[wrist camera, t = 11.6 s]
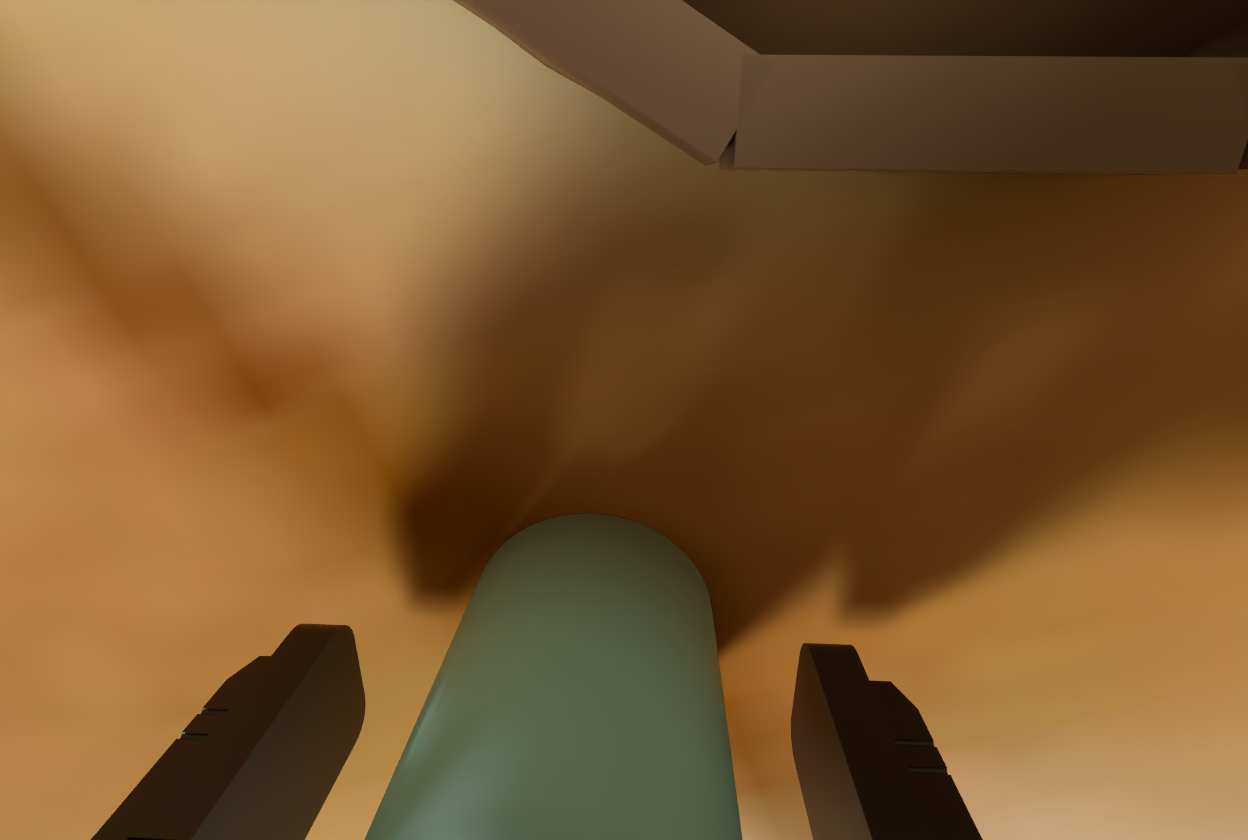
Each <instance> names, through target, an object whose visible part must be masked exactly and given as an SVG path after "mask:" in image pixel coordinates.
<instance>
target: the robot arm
mask: <svg viewBox="0 0 1248 840" xmlns="http://www.w3.org/2000/svg"><path fill="white" fill-rule="evenodd" d="M364 715H365V694H364V688H363V683H362V677H361V672H360V666H359V661H358V655H357V649H356V644H355V638H354V634H353V631H352V629H351V628H350V627H349V626H347V625H325V624H299V625H297V626H296V627H295V628H294V629H293V630H292V631H291V632H290V633H289V634H288V636H287V637H286V638H285V639H284V641H283V642H282V643H281V644H280V646H279V647H278V648H277V649H276V651H275V652H274V653H273V654H272V656H259V657H258V658H256V659H255V660H254V661H252V662H251V663H249V664H248V665H247V666H245V667H244V668H242V669H241V670H240V671H238V672H237V673H235V674H234V675H233V676H231V677H230V678H228V679H227V680H226V681H225V682H224V683H223V685H222V686H221V687H220V688H219V689H218V691H217V692H216V693H215V694H214V695H213V696H212V698H211V699H210V700H209V701H208V702H207V703H206V705H205V706H204V707H203V708H202V713H201V714H197V715H196V716H195V718H194V719H193V720H192V721H191V722H190V724H189V725H188V726H187V727H186V728H185V729H184V731H183V732H182V736H181V738H180V739H176V740H175V741H174V742H173V744H172V745H171V746H170V747H169V748H168V749H167V751H166V752H165V753H164V754H163V755H162V757H161V758H160V759H159V760H158V761H157V762H156V764H155V765H154V766H153V767H152V768H151V770H150V771H149V772H148V773H147V774H146V775H145V777H144V778H143V779H142V780H141V781H140V782H139V784H138V785H137V786H136V787H135V788H134V790H133V791H132V792H131V793H130V794H129V795H128V797H127V798H126V799H125V800H124V801H123V803H122V804H121V805H120V806H119V807H118V808H117V810H116V811H115V812H114V813H113V814H112V815H111V817H110V818H109V819H108V820H107V821H106V823H105V824H104V825H103V826H102V827H101V828H100V830H99V831H98V832H97V833H96V834H95V835H94V837H93V838H92V839H91V840H305V838H306V836H307V834H308V832H309V830H310V829H311V827H312V825H313V823H314V821H315V819H316V817H317V815H318V813H319V811H320V810H321V808H322V806H323V804H324V802H325V800H326V798H327V796H328V794H329V792H330V791H331V789H332V787H333V785H334V783H335V781H336V779H337V777H338V775H339V773H340V772H341V770H342V768H343V766H344V764H345V762H346V760H347V758H348V756H349V754H350V753H351V751H352V749H353V747H354V745H355V743H356V741H357V739H358V737H359V734H360V731H361V728H362V725H363V720H364ZM791 739H792V749H793V756H794V761H795V765H796V769H797V774H798V778H799V782H800V786H801V790H802V794H803V799H804V803H805V807H806V811H807V815H808V819H809V824H810V828H811V832H812V836H813V840H982V838H981V836H980V834H979V832H978V830H977V828H976V826H975V824H974V822H973V820H972V818H971V816H970V814H969V812H968V809H967V807H966V805H965V803H964V801H963V799H962V797H961V795H960V793H959V791H958V789H957V787H956V785H955V783H954V781H953V779H952V777H951V775H948V773H947V767H946V765H945V763H944V761H943V759H942V757H941V755H940V753H939V751H938V749H937V747H934V744H933V739H932V737H931V735H930V733H929V731H928V729H927V727H926V725H925V723H924V721H923V719H922V717H921V715H920V713H919V710H918V709H917V708H916V707H915V706H914V705H913V704H912V703H911V702H910V701H909V700H908V699H907V698H906V697H905V696H904V695H903V694H902V693H901V692H900V691H899V690H898V689H897V688H896V687H895V686H894V685H893V684H892V682H889V681H869V679H868V676H867V674H866V672H865V669H864V667H863V665H862V662H861V660H860V658H859V655H858V653H857V651H856V649H855V648H854V647H853V646H852V645H840V644H812V643H804V644H803V645H802V647H801V650H800V656H799V664H798V671H797V679H796V686H795V693H794V701H793V708H792V716H791Z"/></svg>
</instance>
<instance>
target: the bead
mask: <svg viewBox="0 0 1248 840" xmlns="http://www.w3.org/2000/svg"><path fill="white" fill-rule="evenodd" d="M365 840H742V834H741V826H740V818H739V811H738V803H737V795H736V788H735V780H734V773H733V765H732V757H731V750H730V742H729V735H728V727H727V719H726V712H725V704H724V696H723V689H722V681H721V674H720V666H719V658H718V651H717V643H716V636H715V628H714V620H713V613H712V606H711V600H710V596H709V592H708V589H707V586H706V584H705V582H704V580H703V578H702V576H701V574H700V572H699V570H698V569H697V568H696V566H695V565H694V563H693V562H692V560H691V559H690V558H689V557H688V556H687V555H686V554H685V553H684V552H683V551H682V550H681V549H680V548H679V547H678V546H677V545H676V544H674V543H673V542H672V541H671V540H669V539H668V538H666V537H665V536H663V535H662V534H660V533H659V532H657V531H655V530H653V529H651V528H649V527H647V526H645V525H643V524H640V523H637V522H634V521H631V520H628V519H625V518H621V517H616V516H611V515H604V514H593V513H588V514H570V515H563V516H558V517H554V518H550V519H547V520H543V521H541V522H538V523H536V524H533V525H531V526H529V527H527V528H525V529H523V530H522V531H520V532H518V533H516V534H515V535H514V536H512V537H511V538H510V539H509V540H507V541H506V542H505V543H504V544H503V545H502V546H501V547H500V548H499V549H498V550H497V551H496V552H495V553H494V554H493V556H492V557H491V559H490V560H489V561H488V563H487V564H486V566H485V568H484V570H483V572H482V574H481V576H480V578H479V581H478V583H477V585H476V587H475V590H474V592H473V594H472V597H471V599H470V601H469V603H468V606H467V608H466V610H465V612H464V615H463V617H462V619H461V622H460V624H459V626H458V628H457V631H456V633H455V635H454V637H453V640H452V642H451V644H450V647H449V649H448V651H447V653H446V656H445V658H444V660H443V662H442V665H441V667H440V669H439V672H438V674H437V676H436V678H435V681H434V683H433V685H432V687H431V690H430V692H429V694H428V697H427V699H426V701H425V703H424V706H423V708H422V710H421V713H420V715H419V717H418V719H417V722H416V724H415V726H414V728H413V731H412V733H411V735H410V738H409V740H408V742H407V744H406V747H405V749H404V751H403V753H402V756H401V758H400V760H399V763H398V765H397V767H396V769H395V772H394V774H393V776H392V778H391V781H390V783H389V785H388V788H387V790H386V792H385V794H384V797H383V799H382V801H381V803H380V806H379V808H378V810H377V813H376V815H375V817H374V819H373V822H372V824H371V826H370V828H369V831H368V833H367V835H366V838H365Z"/></svg>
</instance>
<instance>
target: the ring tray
mask: <svg viewBox="0 0 1248 840" xmlns="http://www.w3.org/2000/svg"><path fill="white" fill-rule="evenodd" d="M454 1H455V2H457V3H458V4H460V5H461V6H463V7H464V8H466V9H467V10H469V11H470V12H472V13H473V14H475V15H476V16H478V17H480V18H481V19H483V20H484V21H486V22H487V23H489V24H490V25H492V26H493V27H495V28H496V29H497V30H499V31H500V32H501V33H503V34H504V35H505V36H507V37H508V38H509V39H511V40H512V41H513V42H515V43H516V44H517V45H519V46H520V47H521V48H523V49H524V50H525V51H527V52H528V53H529V54H531V55H532V56H533V57H535V58H536V59H537V60H539V61H540V62H541V63H543V64H544V65H545V66H547V67H549V68H550V69H552V70H554V71H556V72H558V73H559V74H561V75H563V76H565V77H566V78H568V79H570V80H572V81H574V82H575V83H577V84H579V85H581V86H583V87H584V88H586V89H588V90H590V91H591V92H593V93H595V94H597V95H599V96H600V97H602V98H603V99H605V100H606V101H608V102H609V103H611V104H612V105H614V106H616V107H617V108H619V109H620V110H622V111H623V112H625V113H626V114H628V115H629V116H631V117H632V118H634V119H635V120H637V121H638V122H640V123H641V124H643V125H645V126H646V127H648V128H649V129H651V130H652V131H654V132H655V133H657V134H658V135H660V136H661V137H663V138H664V139H666V140H667V141H669V142H671V143H672V144H674V145H675V146H677V147H678V148H680V149H681V150H683V151H684V152H686V153H687V154H689V155H690V156H692V157H693V158H695V159H696V160H698V161H700V162H701V163H703V164H704V165H708V164H712V163H715V162H717V161H718V159H719V158H720V166H719V169H722V170H800V171H876V172H888V173H900V172H956V173H1034V174H1112V175H1144V174H1236V173H1237V170H1238V169H1248V0H454Z"/></svg>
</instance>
